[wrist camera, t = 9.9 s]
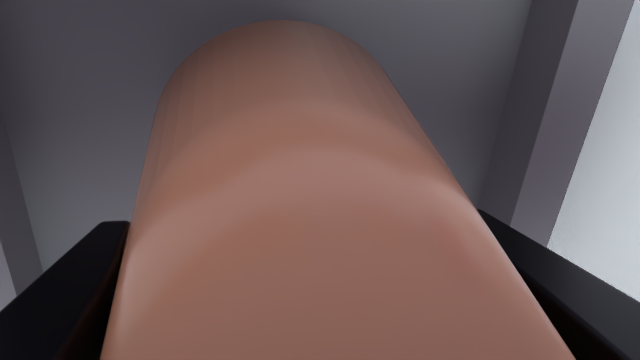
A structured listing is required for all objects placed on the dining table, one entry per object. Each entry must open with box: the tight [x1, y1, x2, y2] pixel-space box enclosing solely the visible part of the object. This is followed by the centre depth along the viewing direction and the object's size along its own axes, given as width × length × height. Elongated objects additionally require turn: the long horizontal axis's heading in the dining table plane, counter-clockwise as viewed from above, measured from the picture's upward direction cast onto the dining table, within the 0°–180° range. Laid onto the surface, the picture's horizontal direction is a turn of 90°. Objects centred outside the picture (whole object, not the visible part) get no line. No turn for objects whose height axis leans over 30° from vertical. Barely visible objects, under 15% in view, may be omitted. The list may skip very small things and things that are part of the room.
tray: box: [0, 0, 634, 311], centre depth 13 cm, size 14×14×2 cm
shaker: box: [100, 20, 576, 360], centre depth 7 cm, size 5×5×10 cm
